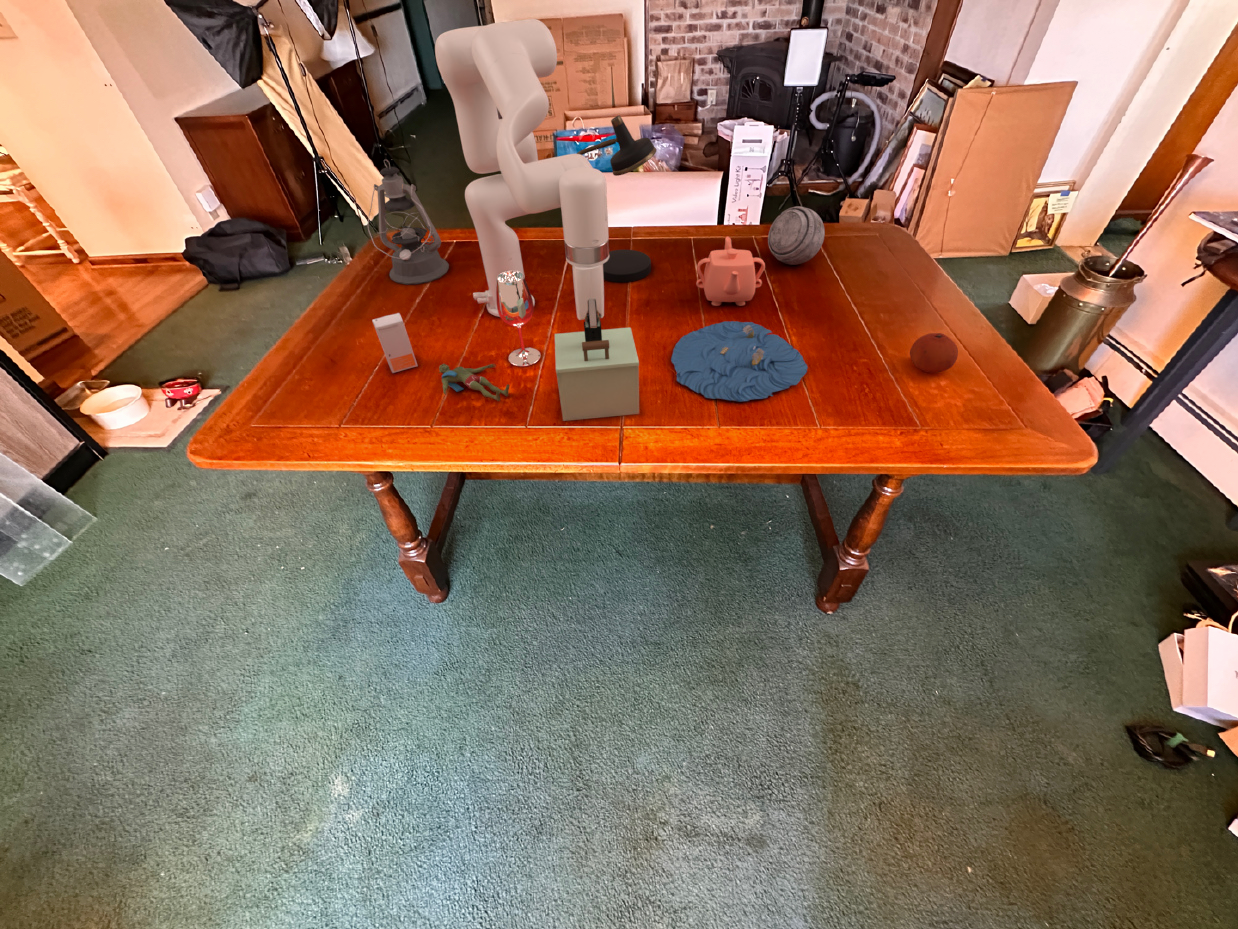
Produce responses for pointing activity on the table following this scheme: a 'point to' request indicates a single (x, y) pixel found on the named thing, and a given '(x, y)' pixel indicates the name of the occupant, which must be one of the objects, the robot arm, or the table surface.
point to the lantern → (407, 234)
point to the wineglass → (516, 312)
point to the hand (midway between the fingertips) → (593, 341)
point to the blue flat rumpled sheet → (736, 362)
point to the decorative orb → (796, 235)
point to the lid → (595, 351)
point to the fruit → (934, 352)
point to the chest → (599, 393)
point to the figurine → (469, 380)
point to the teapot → (729, 275)
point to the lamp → (628, 158)
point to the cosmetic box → (395, 342)
